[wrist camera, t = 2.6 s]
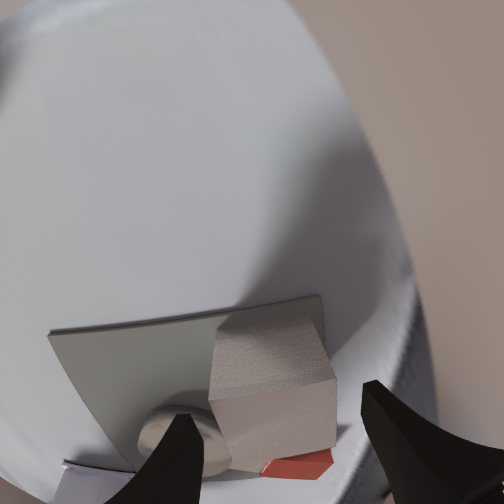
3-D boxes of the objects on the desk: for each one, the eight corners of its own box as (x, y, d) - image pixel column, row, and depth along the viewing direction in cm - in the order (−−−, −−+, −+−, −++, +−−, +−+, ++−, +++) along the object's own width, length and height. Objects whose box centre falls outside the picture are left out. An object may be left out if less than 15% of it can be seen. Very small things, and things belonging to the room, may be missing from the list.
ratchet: (140, 442, 17) (125, 498, 12) (149, 393, 16) (128, 460, 11) (302, 472, 19) (312, 523, 14) (340, 430, 17) (359, 488, 12)
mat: (144, 477, 19) (143, 479, 19) (49, 333, 15) (46, 336, 14) (327, 462, 19) (328, 465, 19) (319, 294, 14) (321, 297, 14)
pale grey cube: (235, 394, 16) (235, 463, 11) (216, 329, 14) (208, 400, 10) (314, 380, 16) (335, 446, 11) (308, 312, 14) (336, 378, 10)
